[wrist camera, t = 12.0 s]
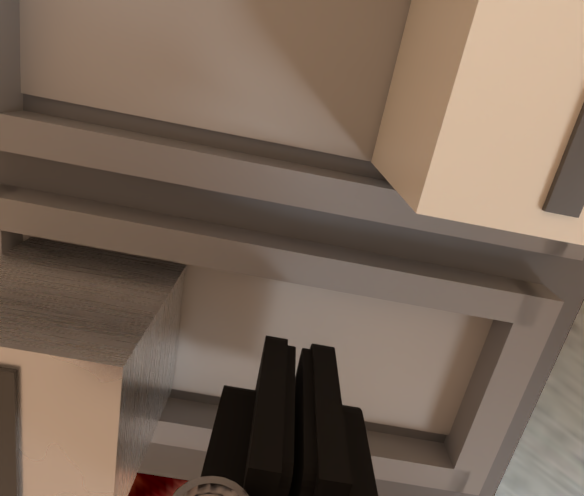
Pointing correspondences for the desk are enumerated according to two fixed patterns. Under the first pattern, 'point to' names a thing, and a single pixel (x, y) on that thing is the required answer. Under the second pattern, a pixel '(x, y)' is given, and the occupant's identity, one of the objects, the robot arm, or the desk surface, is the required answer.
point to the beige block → (82, 366)
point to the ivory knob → (490, 115)
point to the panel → (279, 221)
